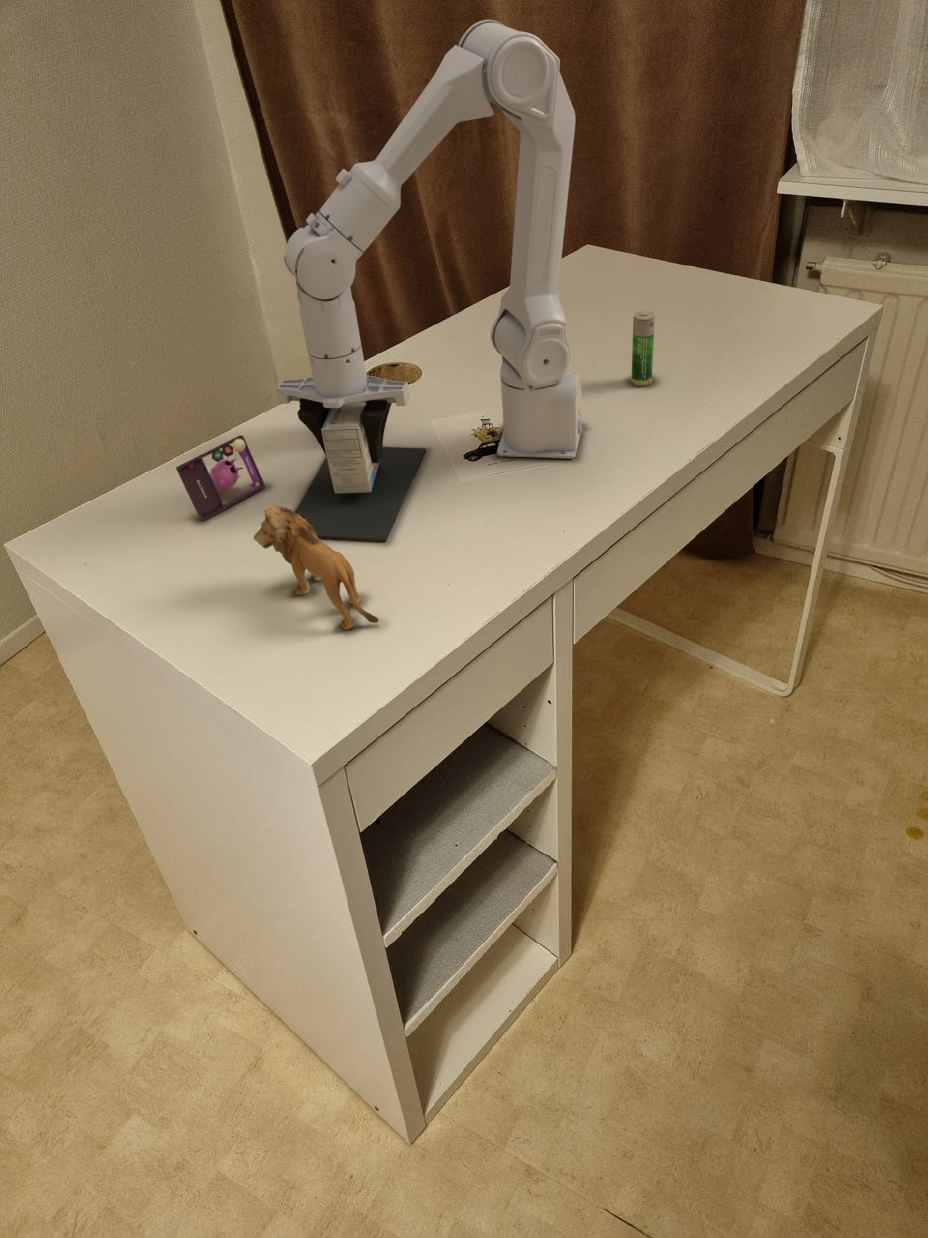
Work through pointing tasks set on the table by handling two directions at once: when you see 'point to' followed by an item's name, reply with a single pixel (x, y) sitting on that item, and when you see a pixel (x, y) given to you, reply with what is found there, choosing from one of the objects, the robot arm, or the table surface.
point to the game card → (217, 477)
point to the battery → (642, 348)
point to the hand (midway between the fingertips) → (355, 457)
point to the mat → (361, 499)
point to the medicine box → (348, 450)
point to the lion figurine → (310, 558)
